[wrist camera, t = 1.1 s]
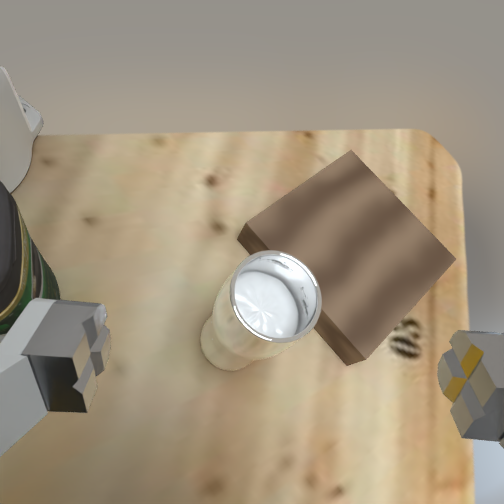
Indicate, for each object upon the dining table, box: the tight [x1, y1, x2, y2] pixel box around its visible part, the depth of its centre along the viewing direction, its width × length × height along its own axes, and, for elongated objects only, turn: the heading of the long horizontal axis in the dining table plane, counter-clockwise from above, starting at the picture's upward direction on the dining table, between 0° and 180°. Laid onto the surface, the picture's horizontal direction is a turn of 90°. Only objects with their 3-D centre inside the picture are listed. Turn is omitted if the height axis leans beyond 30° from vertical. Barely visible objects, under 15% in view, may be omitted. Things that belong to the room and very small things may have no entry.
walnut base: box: [237, 150, 456, 366], centre depth 46 cm, size 18×18×4 cm
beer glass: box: [200, 250, 322, 371], centre depth 34 cm, size 7×7×15 cm
